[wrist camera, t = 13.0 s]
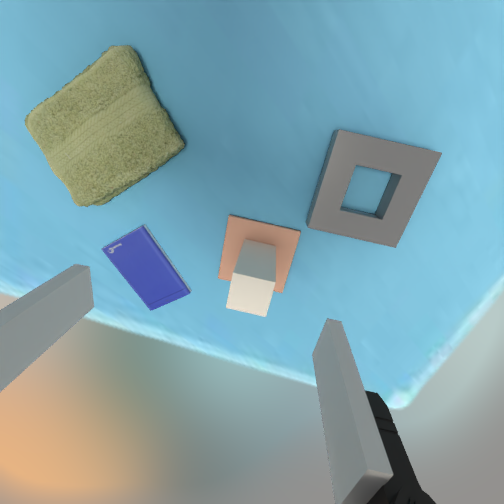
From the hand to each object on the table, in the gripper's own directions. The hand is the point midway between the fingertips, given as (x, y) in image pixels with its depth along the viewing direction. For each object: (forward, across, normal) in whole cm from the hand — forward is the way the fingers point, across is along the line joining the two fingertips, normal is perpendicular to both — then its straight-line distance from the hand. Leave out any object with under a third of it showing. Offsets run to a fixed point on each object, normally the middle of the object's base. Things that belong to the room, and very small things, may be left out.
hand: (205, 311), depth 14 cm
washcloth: (+22, -19, +5) cm, 30 cm away
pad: (+22, +2, -6) cm, 23 cm away
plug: (+21, +2, -6) cm, 22 cm away
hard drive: (+22, -14, -13) cm, 29 cm away
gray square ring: (+22, +14, +6) cm, 26 cm away
